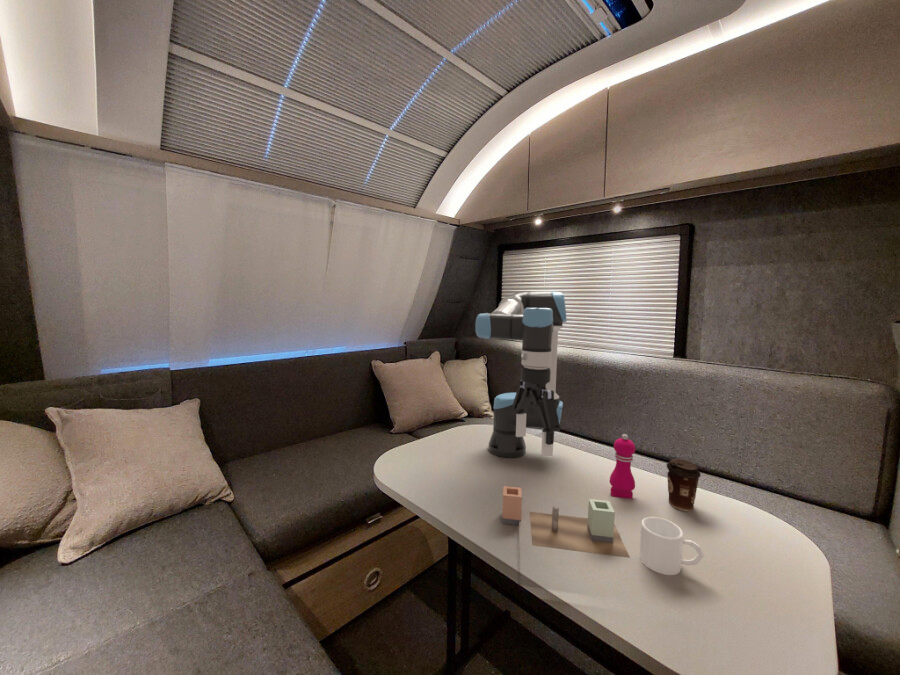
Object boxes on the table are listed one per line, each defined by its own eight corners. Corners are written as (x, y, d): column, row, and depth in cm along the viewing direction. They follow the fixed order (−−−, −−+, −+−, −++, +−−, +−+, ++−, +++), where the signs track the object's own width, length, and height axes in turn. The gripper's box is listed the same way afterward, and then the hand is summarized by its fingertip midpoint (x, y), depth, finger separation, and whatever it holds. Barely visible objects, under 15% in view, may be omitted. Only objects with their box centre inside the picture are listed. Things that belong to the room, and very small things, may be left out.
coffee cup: (660, 504, 106) (663, 463, 105) (666, 494, 112) (669, 454, 111) (695, 517, 100) (698, 473, 99) (699, 505, 106) (703, 463, 105)
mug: (700, 597, 72) (704, 552, 72) (635, 569, 80) (638, 528, 79) (703, 574, 79) (706, 532, 78) (642, 550, 86) (645, 512, 85)
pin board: (529, 516, 99) (530, 491, 98) (612, 526, 95) (614, 499, 95) (532, 550, 85) (533, 521, 85) (629, 563, 82) (631, 532, 81)
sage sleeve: (587, 528, 92) (588, 498, 91) (607, 530, 91) (609, 500, 91) (591, 540, 87) (593, 509, 86) (613, 543, 86) (614, 512, 86)
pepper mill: (637, 503, 107) (641, 439, 105) (611, 500, 108) (615, 437, 106) (630, 491, 114) (634, 431, 112) (606, 488, 115) (609, 429, 113)
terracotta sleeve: (502, 512, 101) (503, 486, 100) (520, 514, 100) (521, 487, 99) (502, 523, 96) (503, 495, 95) (520, 525, 95) (521, 497, 94)
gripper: (502, 359, 103) (500, 430, 105) (549, 376, 79) (546, 467, 81) (525, 359, 105) (522, 428, 107) (578, 375, 81) (574, 463, 83)
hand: (532, 445), depth 94 cm, fingers open, 13 cm apart
